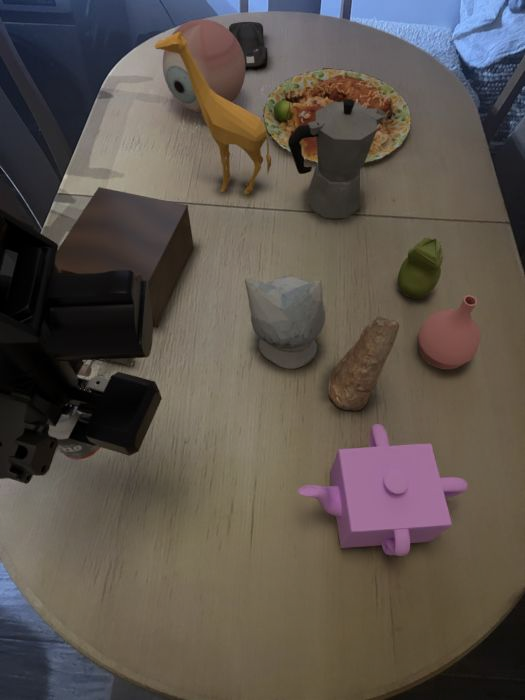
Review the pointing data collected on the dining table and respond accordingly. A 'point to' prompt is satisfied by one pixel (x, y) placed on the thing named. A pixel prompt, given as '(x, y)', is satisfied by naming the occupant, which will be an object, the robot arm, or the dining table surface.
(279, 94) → the rice dish
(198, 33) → the eyeball
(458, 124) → the dining table surface
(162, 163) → the dining table surface
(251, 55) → the toy car
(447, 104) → the dining table surface
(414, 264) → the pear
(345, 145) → the coffeepot
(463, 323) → the pink vase
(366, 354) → the brown tapered rod
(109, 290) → the robot arm
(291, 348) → the figurine
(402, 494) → the teapot
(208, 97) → the giraffe
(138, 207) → the cabinet
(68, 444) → the pill bottle
